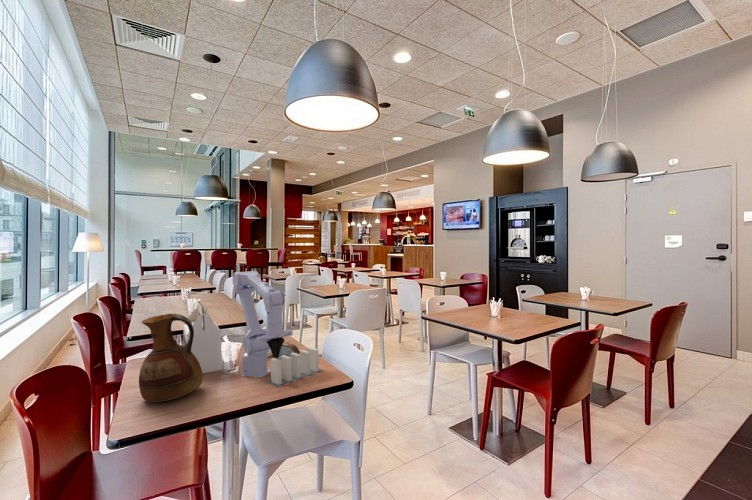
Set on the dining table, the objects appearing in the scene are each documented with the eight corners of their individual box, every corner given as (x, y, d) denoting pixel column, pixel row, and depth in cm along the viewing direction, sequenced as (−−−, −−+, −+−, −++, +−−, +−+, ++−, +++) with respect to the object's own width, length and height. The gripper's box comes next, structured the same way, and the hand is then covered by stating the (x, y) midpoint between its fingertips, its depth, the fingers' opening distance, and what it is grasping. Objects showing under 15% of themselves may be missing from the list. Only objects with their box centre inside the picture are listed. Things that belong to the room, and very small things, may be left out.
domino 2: (288, 381, 141) (287, 358, 141) (281, 378, 145) (280, 356, 144) (291, 380, 142) (291, 357, 142) (284, 377, 146) (283, 355, 145)
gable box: (222, 370, 157) (220, 306, 156) (188, 376, 150) (185, 309, 149) (215, 356, 176) (213, 299, 175) (184, 362, 169) (182, 302, 168)
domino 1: (278, 384, 138) (277, 361, 138) (271, 381, 141) (270, 358, 141) (281, 383, 139) (281, 360, 139) (274, 380, 142) (274, 357, 142)
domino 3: (298, 378, 144) (297, 355, 144) (290, 375, 148) (290, 353, 148) (301, 377, 146) (300, 354, 145) (294, 374, 149) (293, 352, 149)
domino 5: (316, 371, 151) (315, 350, 151) (308, 369, 154) (308, 348, 154) (318, 370, 152) (318, 349, 152) (311, 368, 155) (311, 347, 155)
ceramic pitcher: (141, 392, 135) (138, 312, 134) (201, 381, 145) (198, 306, 144) (137, 413, 118) (133, 322, 117) (205, 399, 128) (202, 315, 127)
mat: (276, 388, 136) (276, 387, 136) (265, 383, 141) (265, 382, 141) (324, 371, 152) (324, 370, 152) (312, 367, 158) (312, 366, 158)
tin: (300, 363, 164) (300, 344, 164) (295, 365, 161) (295, 346, 161) (277, 357, 172) (277, 340, 172) (272, 359, 169) (271, 342, 169)
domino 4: (307, 374, 148) (306, 353, 147) (300, 372, 151) (299, 350, 151) (310, 373, 149) (309, 352, 149) (303, 371, 152) (302, 349, 152)
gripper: (263, 327, 131) (264, 364, 132) (296, 320, 142) (297, 354, 142) (253, 324, 136) (254, 360, 137) (286, 318, 147) (287, 351, 147)
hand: (275, 357), depth 140 cm, fingers closed
